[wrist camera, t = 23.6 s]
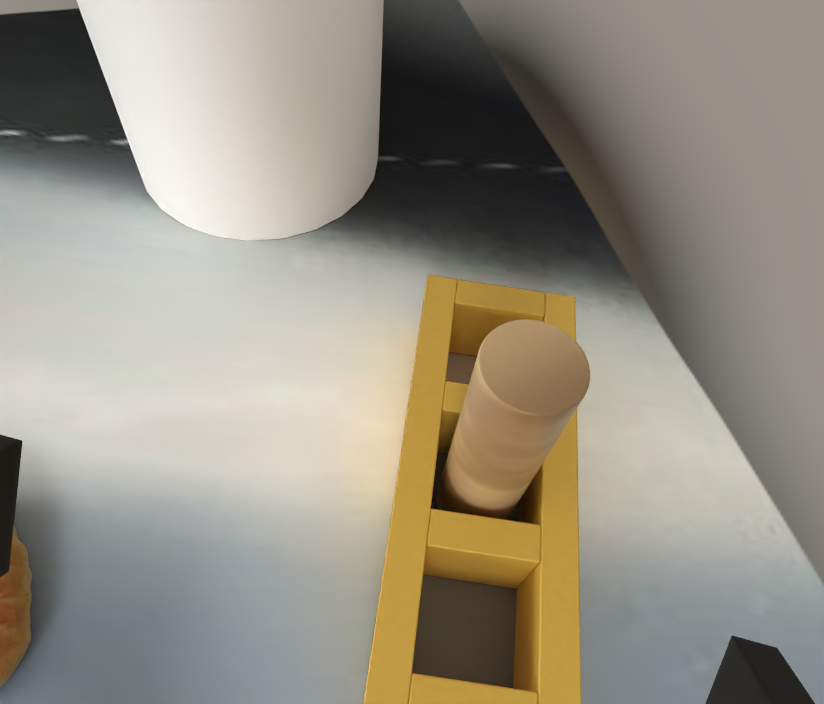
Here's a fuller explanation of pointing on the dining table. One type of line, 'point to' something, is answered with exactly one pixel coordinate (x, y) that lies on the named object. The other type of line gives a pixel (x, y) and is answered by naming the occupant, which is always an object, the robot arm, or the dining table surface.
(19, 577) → the pastry
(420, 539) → the yellow peg holder
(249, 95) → the cylinder
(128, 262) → the dining table surface
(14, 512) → the robot arm
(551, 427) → the peg
